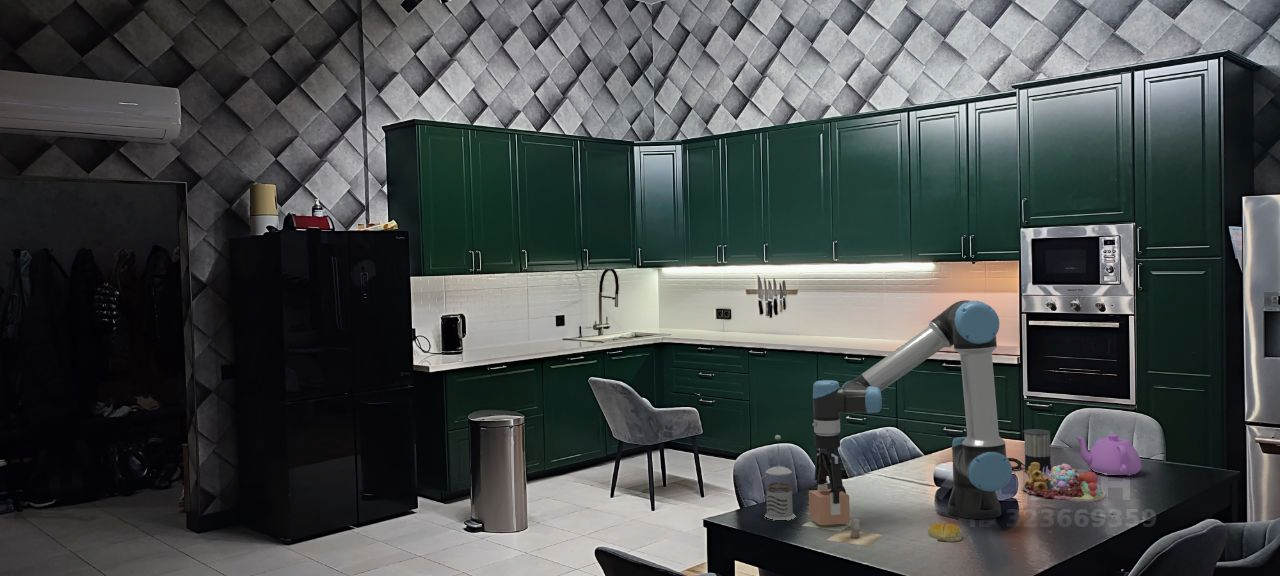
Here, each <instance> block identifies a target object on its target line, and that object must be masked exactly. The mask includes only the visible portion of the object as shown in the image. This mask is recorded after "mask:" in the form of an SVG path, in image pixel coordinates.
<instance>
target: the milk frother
mask: <svg viewBox="0 0 1280 576" xmlns="http://www.w3.org/2000/svg"><path fill="white" fill-rule="evenodd" d="M1023 433H1024V434H1023V437H1024V463H1023V462H1022V461H1021V460H1019V459H1017V458H1014V457H1007V459H1008V460H1009V462H1010V463H1011V462H1012V463H1013V462H1014V463H1016V464H1017V465H1016V466H1011V467H1012V469H1018V470H1020V469H1021V468H1022V466H1023V467H1024V469H1025V470H1026V471H1028V467H1029V466H1031V463H1033V462H1037V463H1039V464H1040V469H1039V471H1041V472H1043V468H1044V472H1045V473H1046V467H1047V466H1048V469H1049V470H1050V471H1051V468H1052V464H1051V463H1052V462H1051V457H1052V456H1051V431H1050V430H1048V429H1047V430H1046V429H1036V428H1035V429H1034V428H1033V429H1032V428H1031V429H1024V430H1023ZM1019 468H1020V469H1019Z"/></svg>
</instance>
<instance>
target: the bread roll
mask: <svg viewBox="0 0 1280 576" xmlns="http://www.w3.org/2000/svg"><path fill="white" fill-rule="evenodd" d="M927 532H928V534H927V535H928V536H929V537H931V538H933V539H937V541H938V542H944V541H945V542H947V543H955V542H959V541H961V540H962V539H963V537H964V531H963V530H962V529H961V528H960V527H959V525H956V524H953V523H949V524H943V523H940V522H939V523H934V524H931V526H929V528H928V530H927Z"/></svg>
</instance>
